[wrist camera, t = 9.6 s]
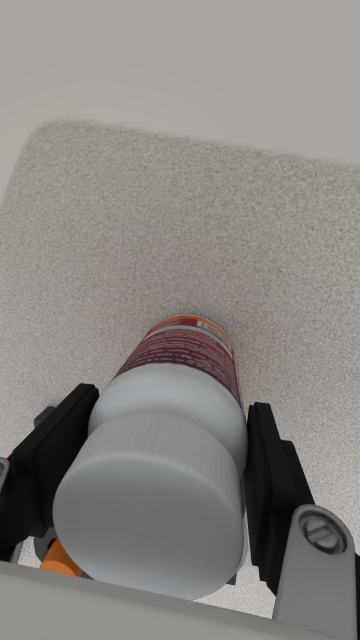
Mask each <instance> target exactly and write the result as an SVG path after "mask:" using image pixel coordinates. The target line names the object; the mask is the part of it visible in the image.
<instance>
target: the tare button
mask: <svg viewBox="0 0 360 640" xmlns="http://www.w3.org/2000/svg"><path fill="white" fill-rule="evenodd" d="M39 569H43V570H48V571H53V572H58V573H62V574H67V575H72V576H77V577H80V576H81V574H82V571H83V570H82V569H81V568H80V567H79V566H78V565H77V564H76V563H75V562H74V561H73V560H72V559H71V558H70V556H69V555H68V554H67V552H66V551H65V549H64V548H63V546H62V545H61V543H60V540H59V538H57V539H55V541H54V542H53V544H52V546H51V548H50V549H49V551H48V553H47V555H46V556H45V558H44V560H43V561H42V563H41V565H40V568H39Z"/></svg>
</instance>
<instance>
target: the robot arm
mask: <svg viewBox="0 0 360 640" xmlns="http://www.w3.org/2000/svg"><path fill="white" fill-rule="evenodd" d="M98 398H99V390H98V389H97V388H95V385H93V384H84V383H80V384H79V385H78V386H77V387H76V388H75V389H74V390H73V391H72V392H71V393H70V394H69V395H68V396H67V397H66V398H65V399H64V400H63V401H62V402H61V403H60V404H59V405H58V406H57V407H56V408H55V409H54V410H53V411H52V412H51V413H50V414H49V415H48V416H47V417H46V418H45V419H44V420H43V421H42V422H41V423H40V424H39V425H38V426H37V427H36V428H35V429H34V430H33V431H32V432H31V433H30V434H29V435H28V436H27V437H26V438H25V439H24V440H23V441H22V442H21V443H20V444H19V445H18V446H17V447H16V448H15V449H14V450H13V451H12V452H13V453H12V454H11V455H10V456H9V457H8V458H7V459H6V458H4V457H0V640H360V556H359V555H357V554H356V553H355V546H354V542H353V537H352V535H351V533H350V532H349V530H348V528H347V527H346V526H345V524H344V523H343V522H342V521H341V520H340V519H339V518H338V517H337V516H336V515H334V514H333V513H332V512H330V511H328V510H327V509H325V508H323V507H320V506H317V505H315V502H314V500H313V497H312V494H311V491H310V489H309V486H308V483H307V480H306V477H305V475H304V472H303V469H302V466H301V464H300V461H299V458H298V455H297V453H296V450H295V447H294V445H293V443H292V442H291V441H287V440H281V439H280V436H279V433H278V429H277V426H276V423H275V419H274V416H273V413H272V410H271V406H270V404H269V403H260V402H255V403H254V406H253V405H249V411H248V419H247V431H248V440H249V450H248V458H247V463H246V467H245V469H244V472H243V478H244V489H245V499H246V510H247V520H248V530H249V541H250V551H251V561H252V565H254V566H258V569H259V577H260V581H264V582H266V584H267V587H268V588H269V589H270V590H271V591H272V593H273V594H274V595H275V596H276V600H275V605H274V610H273V615H272V619H269V618H265V617H260V616H256V615H252V614H248V613H244V612H239V611H235V610H230V609H226V608H221V607H217V606H212V605H207V604H203V603H198V602H194V601H189V600H184V599H180V598H175V597H171V596H166V595H162V594H157V593H152V592H148V591H143V590H138V589H134V588H129V587H124V586H119V585H115V584H110V583H105V582H101V581H96V580H91V579H86V578H81V577H77V576H72V575H67V574H62V573H58V572H53V571H48V570H43V569H38V568H33V567H29V566H24V565H19V564H17V563H18V559H19V556H20V552H21V548H22V545H23V541H24V540H25V539H27V538H28V536H32V537H37V538H42V539H43V537H44V536H45V534H46V532H47V531H48V529H49V527H51V528H52V527H54V522H53V502H54V498H55V494H56V491H57V489H58V487H59V485H60V483H61V481H62V479H63V478H64V476H65V474H66V473H67V471H68V470H69V468H70V467H71V465H72V463H73V462H74V460H75V459H76V457H77V455H78V453H79V451H80V450H81V448H82V446H83V445H84V443H85V442H86V440H87V439H88V424H89V419H90V415H91V412H92V410H93V407H94V405H95V403H96V402H97V400H98Z"/></svg>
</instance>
